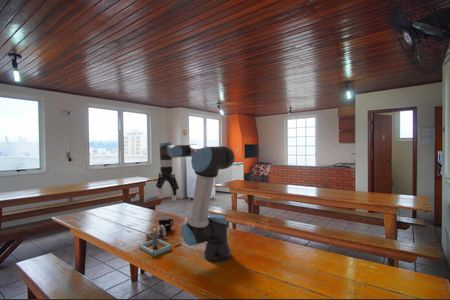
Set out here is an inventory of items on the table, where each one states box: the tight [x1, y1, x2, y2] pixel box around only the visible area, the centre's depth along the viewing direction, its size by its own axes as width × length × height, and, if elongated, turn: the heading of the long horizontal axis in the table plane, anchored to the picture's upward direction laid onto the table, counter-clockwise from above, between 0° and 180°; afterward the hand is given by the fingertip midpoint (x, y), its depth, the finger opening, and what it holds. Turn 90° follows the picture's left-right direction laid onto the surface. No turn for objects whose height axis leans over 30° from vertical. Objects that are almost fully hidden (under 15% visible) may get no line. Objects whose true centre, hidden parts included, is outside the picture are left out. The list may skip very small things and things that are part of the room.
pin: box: [151, 227, 159, 250], centre depth 153 cm, size 3×3×12 cm
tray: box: [138, 239, 173, 258], centre depth 153 cm, size 16×13×3 cm
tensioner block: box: [145, 224, 167, 242], centre depth 168 cm, size 8×12×9 cm, turn 137°
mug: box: [158, 215, 174, 233], centre depth 186 cm, size 12×9×10 cm
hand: (167, 199), depth 162 cm, fingers open, 13 cm apart
